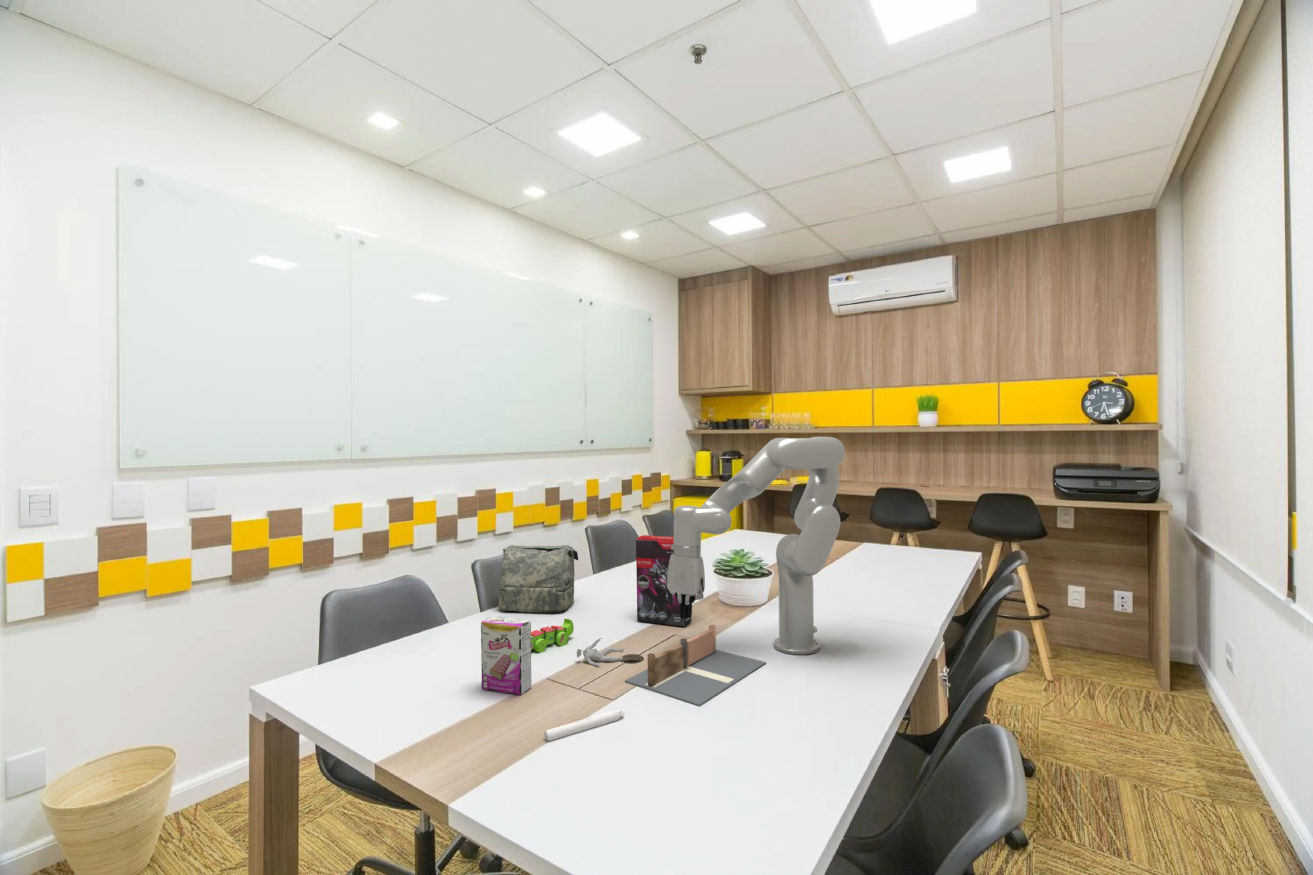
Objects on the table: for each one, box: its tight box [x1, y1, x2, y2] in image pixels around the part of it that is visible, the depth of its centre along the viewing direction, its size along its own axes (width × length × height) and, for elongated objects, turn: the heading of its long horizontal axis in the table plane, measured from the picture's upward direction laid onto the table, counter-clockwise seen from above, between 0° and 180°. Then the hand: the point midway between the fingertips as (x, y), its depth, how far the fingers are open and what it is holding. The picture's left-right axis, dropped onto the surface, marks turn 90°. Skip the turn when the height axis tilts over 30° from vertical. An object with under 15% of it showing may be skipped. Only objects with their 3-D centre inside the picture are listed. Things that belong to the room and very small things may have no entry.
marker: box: [543, 709, 625, 743], centre depth 125 cm, size 18×2×2 cm, turn 123°
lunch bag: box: [498, 544, 579, 613], centre depth 213 cm, size 26×18×22 cm
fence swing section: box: [687, 624, 717, 665], centre depth 161 cm, size 13×2×7 cm, turn 142°
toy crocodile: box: [531, 617, 575, 653], centre depth 173 cm, size 20×7×6 cm, turn 135°
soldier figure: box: [576, 637, 625, 667], centre depth 161 cm, size 8×5×12 cm
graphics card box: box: [635, 534, 693, 627], centre depth 195 cm, size 17×7×27 cm, turn 67°
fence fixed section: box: [647, 638, 688, 686], centre depth 150 cm, size 15×2×7 cm, turn 142°
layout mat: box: [624, 649, 767, 707], centre depth 153 cm, size 31×22×1 cm
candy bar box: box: [480, 616, 532, 696], centre depth 144 cm, size 11×5×16 cm, turn 71°
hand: (685, 617), depth 166 cm, fingers closed
